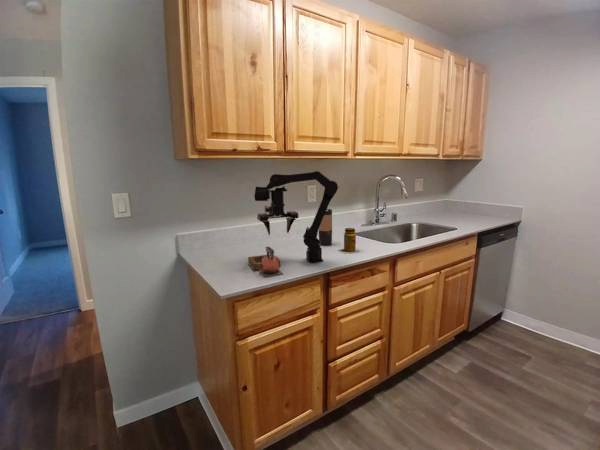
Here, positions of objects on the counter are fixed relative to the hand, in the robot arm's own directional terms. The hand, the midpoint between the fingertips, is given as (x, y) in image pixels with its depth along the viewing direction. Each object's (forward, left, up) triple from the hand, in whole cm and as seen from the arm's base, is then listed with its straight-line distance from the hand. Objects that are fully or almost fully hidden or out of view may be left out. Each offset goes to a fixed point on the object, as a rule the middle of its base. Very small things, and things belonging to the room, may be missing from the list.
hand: (278, 233), depth 148 cm
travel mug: (-33, -17, -13) cm, 40 cm away
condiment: (-38, 0, -13) cm, 40 cm away
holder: (+9, +5, -13) cm, 16 cm away
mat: (+9, +16, -13) cm, 22 cm away
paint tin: (+9, +16, -12) cm, 22 cm away
